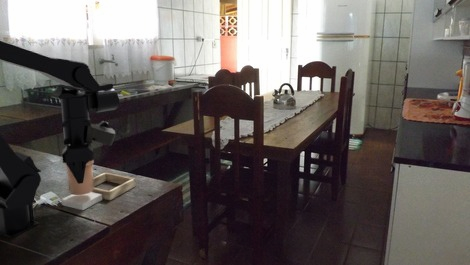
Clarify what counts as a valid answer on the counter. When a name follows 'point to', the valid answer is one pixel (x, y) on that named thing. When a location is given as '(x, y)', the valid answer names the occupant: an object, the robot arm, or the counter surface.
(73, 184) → the terracotta pot
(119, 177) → the beige square frame
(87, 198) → the stone tile
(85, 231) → the counter surface
